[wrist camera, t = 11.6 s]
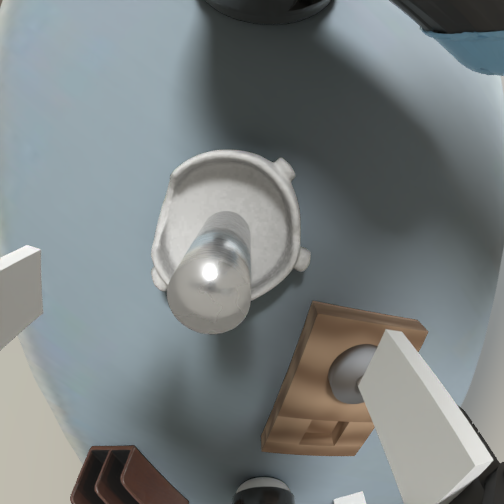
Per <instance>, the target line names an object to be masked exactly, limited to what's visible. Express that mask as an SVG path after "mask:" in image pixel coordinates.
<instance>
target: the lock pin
mask: <svg viewBox="0 0 504 504" xmlns="http://www.w3.org/2000/svg"><path fill="white" fill-rule="evenodd" d="M167 299H168V304H169V307H170V309H171V311H172V313H173V314H174V316H175V317H176V318H177V319H178V320H179V321H180V322H181V323H182V324H183V325H185V326H186V327H188V328H189V329H191V330H193V331H196V332H199V333H204V334H220V333H224V332H227V331H230V330H232V329H234V328H235V327H237V326H238V325H239V324H240V323H241V322H242V321H243V320H244V319H245V317H246V316H247V314H248V311H249V309H250V304H251V233H250V228H249V225H248V223H247V222H246V220H245V219H244V218H243V217H242V216H240V215H239V214H237V213H235V212H231V211H220V212H217V213H215V214H213V215H211V216H210V217H209V218H208V219H207V220H206V222H205V223H204V225H203V226H202V228H201V230H200V231H199V233H198V234H197V236H196V238H195V239H194V241H193V242H192V244H191V246H190V247H189V249H188V251H187V252H186V254H185V255H184V257H183V259H182V260H181V262H180V264H179V265H178V267H177V269H176V270H175V272H174V274H173V275H172V277H171V279H170V281H169V284H168V288H167Z"/></svg>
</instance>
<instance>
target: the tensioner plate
mask: <svg viewBox="0 0 504 504" xmlns="http://www.w3.org/2000/svg"><path fill="white" fill-rule="evenodd" d="M386 329H388V330H394V331H401V332H403V334H404V335H405V336H406V337H407V339H408V340H409V341H410V343H411V344H412V345H413V346H414V348H415V349H416V350H417V352H419V350H420V348H421V346H422V344H423V342H424V340H425V338H426V336H427V334H428V331H427V330H426V329H425V327H424V326H423V325H422V324H421V323H420V322H419V321H418V320H415V319H409V318H403V317H397V316H392V315H386V314H380V313H375V312H369V311H364V310H359V309H353V308H348V307H343V306H337V305H332V304H327V303H322V302H317V301H312V303H311V306H310V309H309V312H308V315H307V318H306V321H305V324H304V327H303V330H302V332H301V335H300V338H299V341H298V344H297V346H296V349H295V352H294V355H293V357H292V360H291V363H290V365H289V368H288V371H287V373H286V376H285V378H284V381H283V384H282V386H281V389H280V391H279V394H278V396H277V399H276V401H275V404H274V406H273V409H272V411H271V414H270V416H269V418H268V421H267V423H266V426H265V428H264V430H263V433H262V435H261V449H262V452H271V453H281V454H295V455H313V456H355V455H356V453H357V452H358V450H359V449H360V448H361V446H362V445H363V444H364V442H365V441H366V439H367V438H368V436H369V435H370V434H371V432H372V431H373V429H374V428H375V426H374V424H373V421H372V419H371V417H370V414H369V412H368V409H367V407H366V404H365V402H364V400H363V397H362V395H361V392H360V390H359V388H358V385H359V383H360V381H361V379H362V377H363V376H364V374H365V372H366V370H367V368H368V366H369V364H370V362H371V360H372V358H373V355H374V353H375V351H376V349H377V347H378V345H379V343H380V341H381V338H382V336H383V334H384V332H385V330H386Z"/></svg>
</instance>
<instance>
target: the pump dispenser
mask: <svg viewBox="0 0 504 504" xmlns="http://www.w3.org/2000/svg"><path fill="white" fill-rule="evenodd" d="M232 504H295V500H294V495H293V494H292V493H291V491H290V489H289V488H288V486H287V485H286V484H285V483H283V482H282V481H280V480H278V479H275V478H270V477H258V478H253V479H250V480H248V481H246V482H244V483H243V484H242V485H241V486H240V487H239V488H238V489H237V491H236V493H235V495H234V496H233V498H232Z"/></svg>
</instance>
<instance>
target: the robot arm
mask: <svg viewBox="0 0 504 504" xmlns="http://www.w3.org/2000/svg"><path fill="white" fill-rule="evenodd" d="M205 1H206V2H207V3H208V4H209V5H211V6H212V7H213V8H214V9H216V10H217V11H219V12H221V13H223V14H225V15H227V16H229V17H232V18H234V19H238V20H241V21H245V22H250V23H256V24H285V23H292V22H296V21H300V20H303V19H306V18H308V17H311V16H313V15H315V14H316V13H318V12H320V11H321V10H322V9H324V8H325V7H326V6H327V5H328V4H329V2H330V1H331V0H205ZM389 1H390V2H392V3H393V4H394V5H396V6H397V7H398V8H399V9H401V10H402V11H403V12H404V13H405V14H407V15H408V16H409V17H410V18H411V19H413V20H414V21H415V22H416V23H417V24H418V25H419V26H420V29H421V30H422V32H423V33H425V34H426V35H427V36H429V37H433V38H434V39H435V40H436V41H438V42H439V43H440V44H441V45H442V46H443V47H444V48H445V49H446V50H447V51H448V52H449V53H450V54H452V55H453V56H454V57H455V58H456V59H457V60H458V61H459V62H460V63H461V64H462V65H464V66H465V67H467V68H469V69H471V70H473V71H475V72H478V73H481V74H487V75H500V76H504V0H389ZM41 314H43V303H42V285H41V249H38V248H35V247H31V246H28V245H26V246H24V247H22V248H20V249H18V250H16V251H14V252H11V253H9V254H7V255H5V256H3V257H1V258H0V350H2V349H3V348H4V347H5V346H6V345H7V344H8V343H9V342H10V341H11V340H13V339H14V338H15V337H16V336H17V335H18V334H19V333H21V332H22V331H23V330H24V329H25V328H26V327H27V326H29V325H30V324H31V323H32V322H33V321H34V320H35V319H37V318H38V317H39V316H40V315H41ZM358 388H359V390H360V392H361V395H362V397H363V400H364V402H365V404H366V407H367V409H368V412H369V414H370V417H371V419H372V421H373V424H374V426H375V429H376V431H377V434H378V436H379V439H380V441H381V444H382V446H383V449H384V452H385V454H386V457H387V459H388V462H389V465H390V467H391V470H392V472H393V475H394V478H395V480H396V483H397V486H398V488H399V491H400V494H401V497H402V499H403V502H404V504H504V462H502V463H501V464H500V463H499V461H498V460H497V458H496V457H495V455H494V454H493V452H492V451H491V449H490V448H489V446H488V444H487V443H486V442H485V440H484V438H483V437H482V435H481V434H480V433H478V429H477V428H476V427H475V425H474V424H472V421H471V419H470V418H469V417H468V415H467V414H466V412H465V411H464V410H463V409H462V408H461V407H459V406H458V405H457V404H456V403H455V402H454V400H453V399H452V397H451V396H450V395H449V393H448V392H447V390H446V389H445V388H444V386H443V385H442V384H441V382H440V381H439V379H438V378H437V377H436V375H435V374H434V373H433V371H432V370H431V369H430V367H429V366H428V365H427V363H426V362H425V361H424V359H423V358H422V357H421V356H420V354H419V353H418V352H417V350H416V349H415V348H414V346H413V345H412V344H411V343H410V341H409V340H408V339H407V337H406V336H405V335H404V334H403V332H401V331H394V330H388V329H386V330H385V332H384V334H383V336H382V338H381V341H380V343H379V345H378V347H377V349H376V351H375V353H374V355H373V358H372V360H371V362H370V364H369V366H368V368H367V370H366V372H365V374H364V376H363V377H362V379H361V381H360V383H359V385H358Z"/></svg>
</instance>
